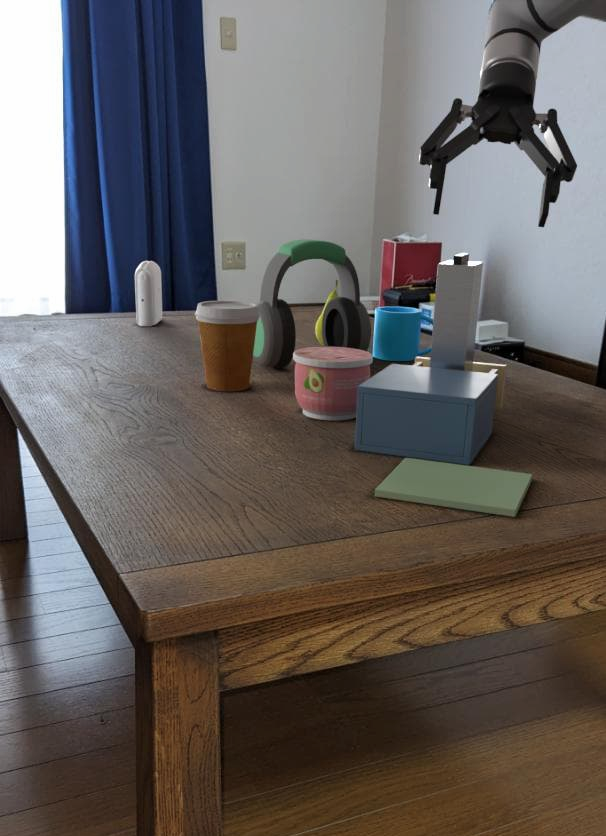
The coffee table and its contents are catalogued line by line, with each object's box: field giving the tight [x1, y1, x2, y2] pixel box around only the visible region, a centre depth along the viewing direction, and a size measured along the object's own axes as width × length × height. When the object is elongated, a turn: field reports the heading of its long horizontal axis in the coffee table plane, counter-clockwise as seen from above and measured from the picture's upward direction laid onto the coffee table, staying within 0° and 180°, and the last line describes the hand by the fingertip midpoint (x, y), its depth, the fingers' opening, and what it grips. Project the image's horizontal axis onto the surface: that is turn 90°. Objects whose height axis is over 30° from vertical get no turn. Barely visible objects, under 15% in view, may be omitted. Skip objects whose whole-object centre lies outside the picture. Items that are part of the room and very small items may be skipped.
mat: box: [374, 457, 533, 518], centre depth 93 cm, size 14×12×1 cm
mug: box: [372, 305, 434, 362], centre depth 158 cm, size 12×8×8 cm
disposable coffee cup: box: [194, 300, 260, 392], centre depth 132 cm, size 10×10×12 cm
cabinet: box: [354, 363, 498, 466], centre depth 108 cm, size 15×14×8 cm
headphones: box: [253, 238, 372, 369], centre depth 147 cm, size 19×11×20 cm, turn 114°
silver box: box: [429, 252, 484, 372], centre depth 115 cm, size 4×6×19 cm
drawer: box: [411, 356, 508, 410], centre depth 120 cm, size 18×12×6 cm
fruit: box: [314, 279, 340, 347], centre depth 164 cm, size 6×6×12 cm
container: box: [292, 346, 374, 421], centre depth 119 cm, size 10×10×8 cm
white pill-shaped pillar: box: [134, 260, 163, 327], centre depth 185 cm, size 10×4×12 cm, turn 178°
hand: (489, 214), depth 115 cm, fingers open, 13 cm apart
